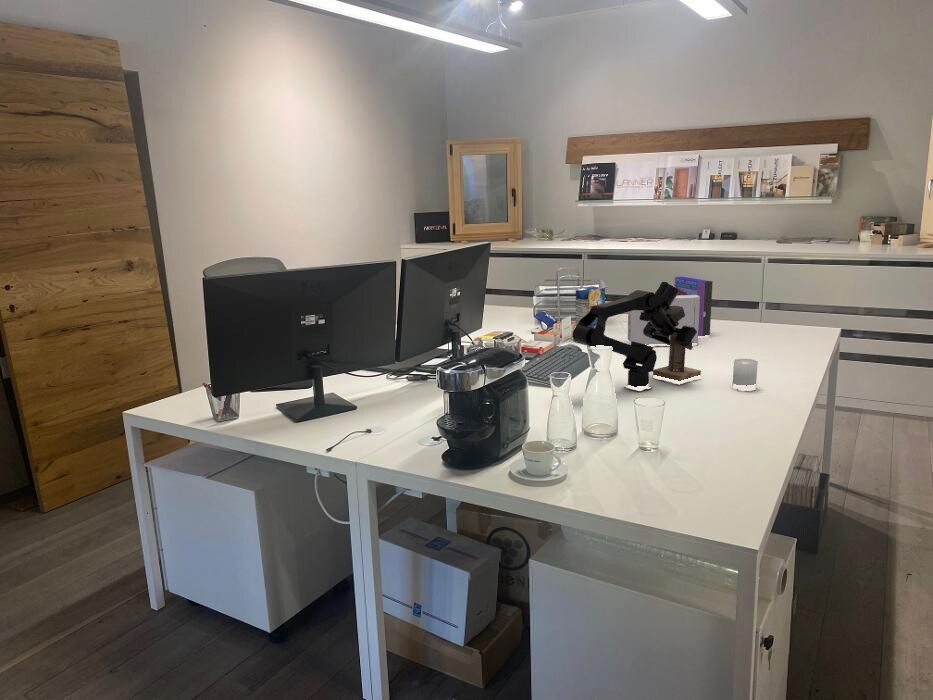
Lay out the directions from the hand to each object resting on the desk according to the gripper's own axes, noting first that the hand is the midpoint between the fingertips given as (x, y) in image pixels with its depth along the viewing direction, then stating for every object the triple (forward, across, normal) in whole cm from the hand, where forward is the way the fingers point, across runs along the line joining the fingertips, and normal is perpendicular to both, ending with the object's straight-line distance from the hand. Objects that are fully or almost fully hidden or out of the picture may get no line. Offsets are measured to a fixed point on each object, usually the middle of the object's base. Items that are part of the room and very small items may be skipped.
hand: (680, 346), depth 237 cm
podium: (+7, 0, +9) cm, 11 cm away
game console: (+30, +36, -14) cm, 49 cm away
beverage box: (+18, +61, -2) cm, 64 cm away
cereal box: (+46, +42, -31) cm, 70 cm away
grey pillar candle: (+13, -21, +3) cm, 24 cm away
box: (+5, 0, +7) cm, 8 cm away
